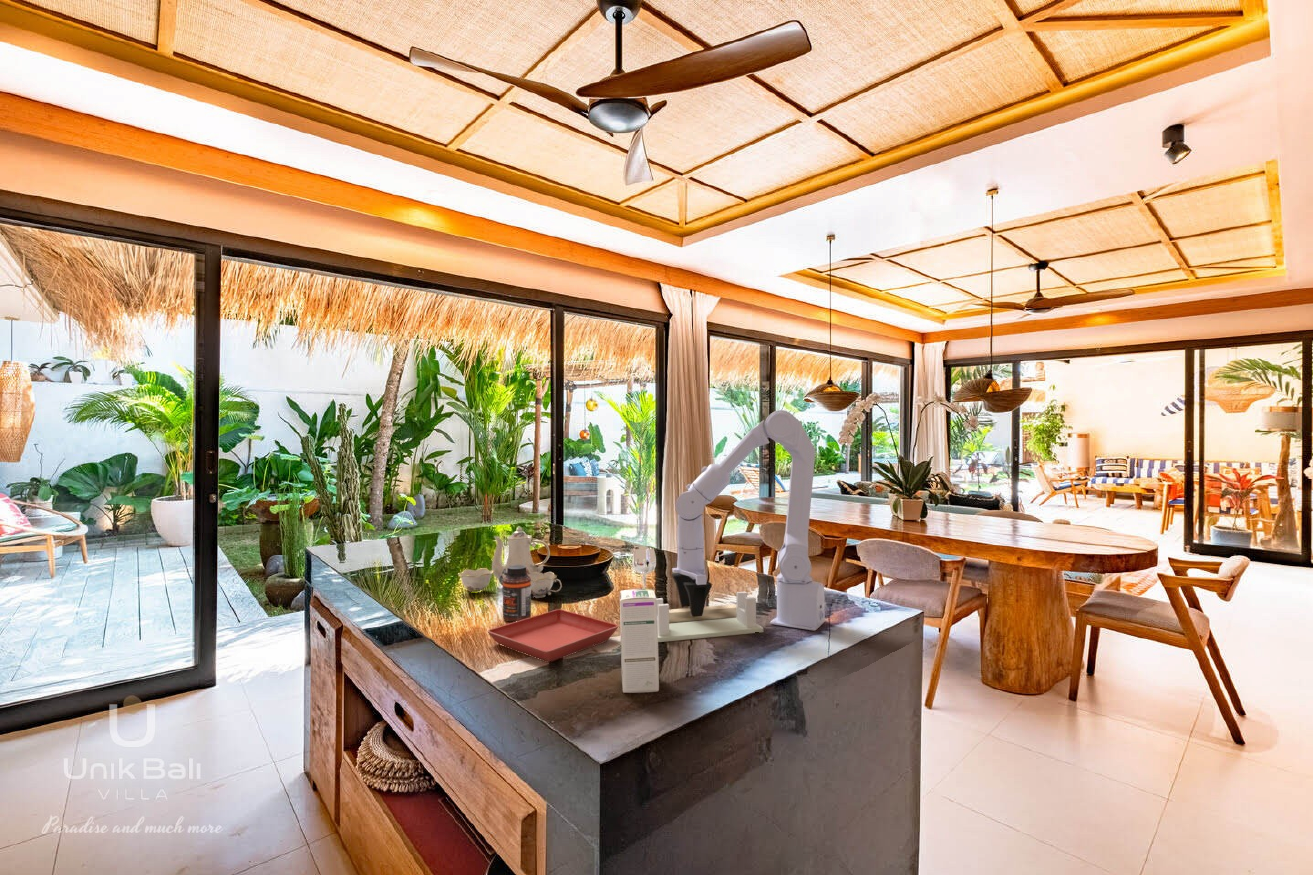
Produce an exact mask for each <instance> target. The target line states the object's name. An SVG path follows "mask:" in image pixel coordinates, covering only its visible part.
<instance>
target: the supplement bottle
mask: <svg viewBox="0 0 1313 875" xmlns="http://www.w3.org/2000/svg"><path fill="white" fill-rule="evenodd" d="M507 573H508V574H507V576H506V577H505V578H504V579H503V586H502V619H503V620H504V621H506V622H508V621H514V622H516V621H520V620H523V619H526V618H530V617H532V616H531V615H532V594H531V578H530V577H529V576H528V575H527V574H526V566H525V565H512V566H509V567H508V568H507Z"/></svg>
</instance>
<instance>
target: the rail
mask: <svg viewBox="0 0 1313 875" xmlns="http://www.w3.org/2000/svg"><path fill="white" fill-rule="evenodd" d="M727 618H737V604H736V603H734V604H722V605H711V606H710V605H709V606H708V605H707V606H704V610H703V614H702V616H697V617H693V616H692V614H691V610H690V607H682V608H673V609H670V608H669V624H671V623H682V622H693V621H704V620H716V619H727Z"/></svg>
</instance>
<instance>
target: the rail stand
mask: <svg viewBox="0 0 1313 875" xmlns="http://www.w3.org/2000/svg"><path fill="white" fill-rule="evenodd" d="M735 597H736V598H735V599H736V600H735V601H736V603H735V604H737V617H730V618H718V619H707V620H695V621H683V622H671V623H669V610H670V604H669V603H664V599H663V597H660V598H657V597H656V600H657V629H658V643H662V642H664V643H665V642H675V641H683V640H685V641H686V640H693V639H695V640H696V639H703V638H704V639H705V638H714V637H715V638H717V637H726V636H727V637H728V636H736V635H747V634H756V633H755V632H759V633H764V626H761V625H760V624H759V623H757V598H756V597H755V596H748V592H747V591H736V596H735Z"/></svg>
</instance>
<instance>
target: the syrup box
mask: <svg viewBox="0 0 1313 875" xmlns="http://www.w3.org/2000/svg"><path fill="white" fill-rule="evenodd" d="M656 598H657V596H656V593H655V589H653V588H645V589H644V588H632V589H625V590H620V592H619V616H620V617H619V618H620V620H619V621H620V623H619V624H620V626H619V627H620V654H621V656H620V658H621V663H620V664H621V684H622V686H621V687H622V692H623V693H624V694H625V693H630V694H631V693H632V694H633V693H634V694H635V693H636V694H637V693H654V692H655V693H656V692H659V690H660V681H659V680H660V679H659V678H660V677H659V676H660V675H659V671H660V670H659V663H660V662H659V642H658V629H657V600H656Z"/></svg>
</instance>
